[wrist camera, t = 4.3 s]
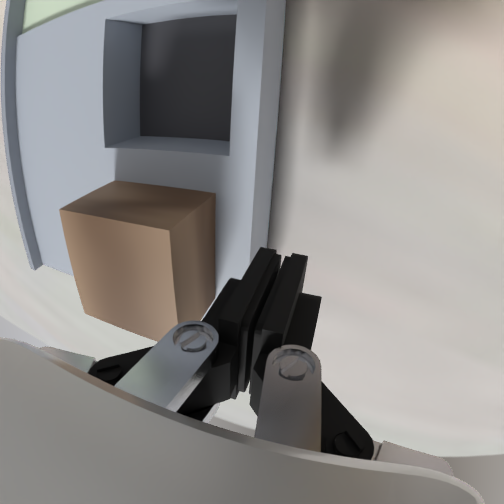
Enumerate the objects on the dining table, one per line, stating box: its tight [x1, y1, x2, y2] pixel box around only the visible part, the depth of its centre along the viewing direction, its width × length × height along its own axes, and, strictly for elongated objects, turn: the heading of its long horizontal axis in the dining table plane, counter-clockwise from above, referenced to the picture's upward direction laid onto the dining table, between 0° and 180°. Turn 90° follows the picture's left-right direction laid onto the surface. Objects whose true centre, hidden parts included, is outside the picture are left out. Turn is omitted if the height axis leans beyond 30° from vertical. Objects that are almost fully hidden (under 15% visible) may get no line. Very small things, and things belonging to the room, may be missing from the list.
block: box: [59, 180, 216, 342], centre depth 12 cm, size 5×5×4 cm
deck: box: [1, 0, 286, 318], centre depth 12 cm, size 16×22×4 cm
